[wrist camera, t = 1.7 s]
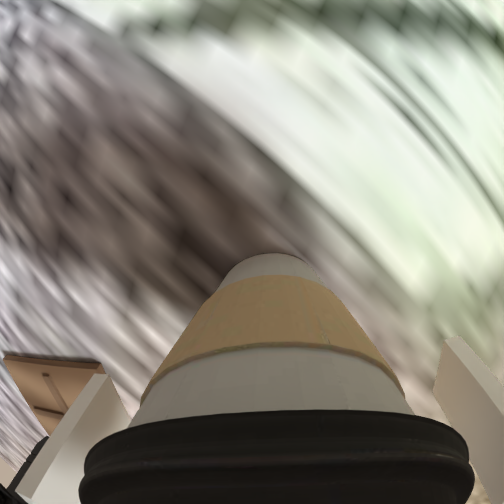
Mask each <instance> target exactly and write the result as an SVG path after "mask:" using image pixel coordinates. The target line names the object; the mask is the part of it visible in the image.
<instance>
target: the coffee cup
mask: <svg viewBox="0 0 504 504" xmlns="http://www.w3.org/2000/svg"><path fill="white" fill-rule="evenodd" d="M468 462H469V449H468V446H467V443H466V441H465V440H464V438H463V437H462V435H461V434H460V433H458V432H457V431H456V430H455V429H453V428H451V427H450V426H448V425H446V424H444V423H441V422H438V421H436V420H433V419H430V418H425V417H421V416H417V415H415V414H414V412H413V411H412V409H411V408H410V406H409V405H408V403H407V402H406V400H405V393H404V391H403V389H402V387H401V385H400V383H399V380H398V378H397V376H396V375H395V373H394V372H393V371H392V369H391V368H390V366H389V365H388V364H387V362H386V361H385V359H384V358H383V357H382V355H381V354H380V353H379V351H378V350H377V348H376V347H375V346H374V344H373V343H372V342H371V340H370V339H369V338H368V336H367V335H366V333H365V332H364V331H363V329H362V328H361V327H360V325H359V324H358V323H357V321H356V320H355V319H354V317H353V316H352V315H351V313H350V312H349V311H348V309H347V308H346V307H345V305H344V304H343V303H342V302H341V300H340V299H339V298H338V297H337V296H336V295H335V294H334V293H333V292H332V291H331V290H329V289H327V287H326V286H325V285H324V283H323V282H322V281H321V279H320V278H319V277H318V276H317V274H316V273H315V272H314V270H313V269H312V268H311V267H310V266H309V265H308V264H307V263H305V262H304V261H302V260H300V259H299V258H296V257H293V256H290V255H287V254H280V253H266V254H261V255H255V256H253V257H250V258H247V259H245V260H243V261H242V262H240V263H238V264H237V265H235V266H234V267H233V268H232V269H231V270H230V271H229V272H228V274H227V275H226V277H225V278H224V280H223V281H222V283H221V284H220V286H219V287H218V289H217V290H216V292H215V293H214V294H213V295H212V296H211V297H210V298H208V299H207V300H206V301H205V302H204V303H203V304H202V306H201V307H200V309H199V310H198V312H197V313H196V315H195V316H194V317H193V319H192V320H191V322H190V323H189V325H188V326H187V328H186V329H185V330H184V332H183V333H182V335H181V336H180V338H179V339H178V341H177V342H176V344H175V345H174V346H173V348H172V349H171V351H170V352H169V354H168V355H167V357H166V358H165V360H164V361H163V363H162V364H161V365H160V367H159V368H158V370H157V371H156V373H155V374H154V376H153V377H152V379H151V380H150V382H149V384H148V386H147V388H146V389H145V391H144V393H143V395H142V397H141V403H140V408H139V410H138V411H137V413H136V415H135V416H134V418H133V419H132V421H131V422H130V424H129V426H128V427H127V429H124V430H121V431H118V432H115V433H113V434H111V435H109V436H107V437H105V438H103V439H102V440H100V441H99V442H98V443H96V444H95V445H94V446H93V447H92V448H91V449H90V450H89V452H88V454H87V456H86V458H85V462H84V474H85V476H84V477H83V478H82V480H81V482H80V484H79V489H78V494H79V499H80V502H81V504H465V503H466V501H467V500H468V498H469V496H470V495H471V493H472V490H473V487H474V482H475V476H474V472H473V469H472V467H471V465H470V464H469V463H468Z"/></svg>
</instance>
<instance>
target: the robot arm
mask: <svg viewBox="0 0 504 504" xmlns="http://www.w3.org/2000/svg"><path fill="white" fill-rule="evenodd" d="M432 393H433V395H434V396H435V398H436V400H437V401H438V403H439V405H440V406H441V408H442V410H443V412H444V413H445V415H446V417H447V419H448V420H449V422H450V424H451V426H452V427H453V429H455V430H456V431H457V432H458V433H460V434H461V435H462V437H463V438H464V440H465V441H466V443H467V446H468V449H469V459H470V461H471V463H472V465H473V467H474V468H475V470H476V472H477V474H478V476H479V478H480V480H481V483H482V485H483V487H484V489H485V491H486V493H487V495H488V497H489V499H490V501H491V504H504V386H503V384H502V383H501V382H500V381H499V380H498V378H497V377H496V376H495V375H494V374H493V373H492V371H491V370H490V369H489V368H488V367H487V366H486V365H485V363H484V362H483V361H482V360H481V359H480V358H479V357H478V355H477V354H476V353H475V352H474V351H473V350H472V349H471V348H470V347H469V346H468V344H467V343H466V342H465V341H464V340H463V339H462V338H461V337H460V336H456V337H453V338H449V339H446V340H444V342H443V347H442V352H441V357H440V362H439V367H438V371H437V375H436V380H435V384H434V388H433V392H432ZM131 421H132V420H131V419H130V417H129V415H128V413H127V411H126V409H125V407H124V405H123V403H122V401H121V399H120V397H119V395H118V393H117V391H116V389H115V386H114V384H113V382H112V380H111V378H110V375H109V374H94V375H93V376H92V378H91V379H90V380H89V382H88V383H87V384H86V386H85V387H84V389H83V390H82V391H81V393H80V394H79V395H78V397H77V398H76V400H75V401H74V402H73V404H72V405H71V407H70V408H69V410H68V411H67V412H66V414H65V415H64V417H63V418H62V420H61V421H60V422H59V424H58V425H57V427H56V428H55V430H54V431H53V433H52V434H51V436H50V437H49V436H46V437H45V438H43V439H42V440H41V441H39V442H38V443H37V444H36V446H35V447H34V449H33V450H32V452H31V455H29V456H28V458H27V459H26V462H24V464H23V465H22V467H21V468H20V470H19V471H18V473H17V474H16V476H15V477H14V479H13V480H12V482H11V484H10V485H9V486H8V488H7V489H5V487H3V485H2V484H1V483H0V504H81V502H80V499H79V494H78V489H79V484H80V482H81V480H82V478H83V477H84V476H85V474H84V462H85V458H86V456H87V454H88V452H89V450H90V449H91V448H92V447H93V446H94V445H95V444H96V443H98V442H99V441H100V440H102V439H103V438H105V437H107V436H109V435H111V434H113V433H115V432H118V431H121V430H124V429H127V427H128V426H129V424H130V422H131Z"/></svg>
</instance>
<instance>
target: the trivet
mask: <svg viewBox="0 0 504 504" xmlns="http://www.w3.org/2000/svg"><path fill="white" fill-rule="evenodd" d="M3 361H4V363H5V365H6V367H7V369H8V371H9V372H10V374H11V376H12V378H13V380H14V381H15V383H16V385H17V387H18V388H19V390H20V392H21V394H22V395H23V397H24V399H25V400H26V402H27V403H28V405H29V407H30V408H31V410H32V411H33V413H34V414H35V416H36V417H37V419H38V420H39V422H40V423H41V425H42V426H43V428H44V429H45V430H46V432H47V433H48V435H49V436H51V434H52V433H53V431H54V430H55V428H56V427H57V425H58V424H59V422H60V421H61V420H62V418H63V417H64V415H65V414H66V412H67V411H68V410H69V408H70V407H71V405H72V404H73V402H74V401H75V400H76V398H77V397H78V395H79V394H80V393H81V391H82V390H83V389H84V387H85V386H86V384H87V383H88V382H89V380H90V379H91V378H92V376H93V375H94V374H106V373H105V371H104V369H103V367H102V365H101V363H84V362H69V361H57V360H46V359H36V358H28V357H20V356H12V355H6V356H5V357H4V358H3Z"/></svg>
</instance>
